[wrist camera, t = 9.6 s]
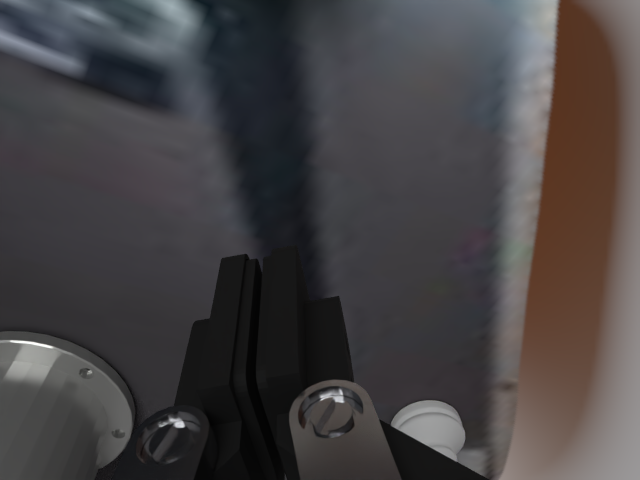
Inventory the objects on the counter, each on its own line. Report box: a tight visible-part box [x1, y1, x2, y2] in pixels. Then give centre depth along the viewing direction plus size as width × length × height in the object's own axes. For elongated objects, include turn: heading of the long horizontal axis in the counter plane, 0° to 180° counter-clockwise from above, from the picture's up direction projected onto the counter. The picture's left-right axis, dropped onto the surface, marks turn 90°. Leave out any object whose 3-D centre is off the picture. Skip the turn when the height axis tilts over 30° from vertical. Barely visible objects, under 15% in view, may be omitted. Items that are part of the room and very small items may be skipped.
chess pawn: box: [391, 400, 465, 462], centre depth 36 cm, size 5×5×9 cm
